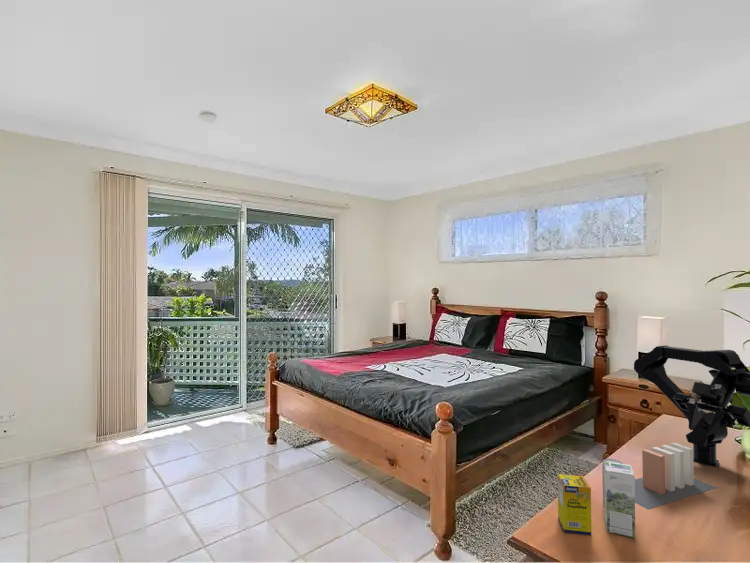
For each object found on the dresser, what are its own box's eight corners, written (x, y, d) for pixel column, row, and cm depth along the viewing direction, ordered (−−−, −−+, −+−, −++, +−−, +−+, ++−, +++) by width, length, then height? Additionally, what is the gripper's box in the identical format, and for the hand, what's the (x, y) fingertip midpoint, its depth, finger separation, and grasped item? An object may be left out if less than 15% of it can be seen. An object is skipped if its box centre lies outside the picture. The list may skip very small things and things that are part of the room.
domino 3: (675, 477, 119) (674, 442, 119) (693, 484, 114) (693, 448, 115) (671, 478, 119) (670, 443, 119) (690, 485, 114) (689, 449, 114)
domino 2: (665, 479, 118) (665, 444, 118) (684, 487, 113) (683, 451, 113) (662, 480, 117) (661, 445, 117) (680, 488, 112) (680, 452, 113)
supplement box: (592, 536, 93) (591, 487, 93) (563, 533, 94) (563, 485, 94) (584, 521, 99) (583, 475, 99) (557, 518, 100) (557, 473, 100)
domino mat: (672, 471, 124) (671, 469, 124) (717, 489, 113) (717, 487, 113) (605, 489, 114) (605, 487, 114) (648, 511, 102) (648, 509, 102)
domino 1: (656, 482, 116) (655, 446, 116) (675, 490, 112) (674, 453, 112) (652, 483, 116) (652, 447, 116) (671, 491, 111) (670, 454, 111)
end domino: (646, 484, 115) (646, 449, 115) (665, 493, 110) (664, 455, 110) (642, 486, 114) (642, 449, 114) (661, 494, 109) (660, 456, 110)
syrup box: (632, 525, 97) (631, 463, 97) (636, 539, 91) (634, 474, 91) (604, 519, 99) (603, 459, 99) (606, 533, 94) (605, 469, 94)
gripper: (675, 366, 130) (652, 405, 126) (747, 379, 113) (723, 424, 109) (692, 389, 133) (670, 428, 129) (764, 404, 116) (741, 449, 112)
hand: (698, 431), depth 119 cm, fingers open, 4 cm apart
